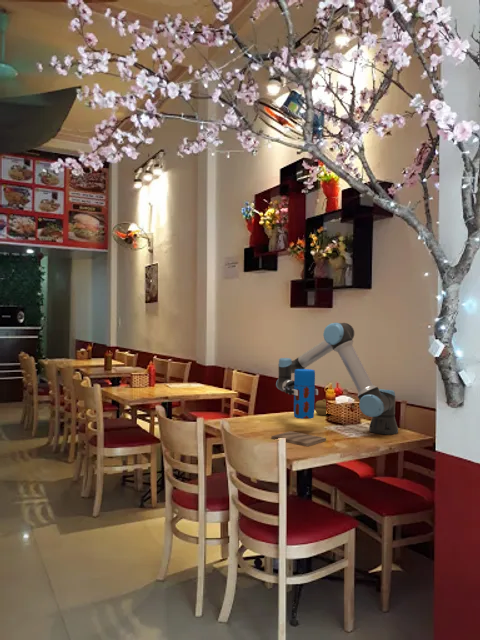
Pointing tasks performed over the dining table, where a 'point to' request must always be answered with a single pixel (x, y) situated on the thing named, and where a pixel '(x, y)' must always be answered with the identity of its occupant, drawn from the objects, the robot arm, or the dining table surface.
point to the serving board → (299, 438)
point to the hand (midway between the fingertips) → (307, 392)
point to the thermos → (304, 393)
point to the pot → (321, 407)
